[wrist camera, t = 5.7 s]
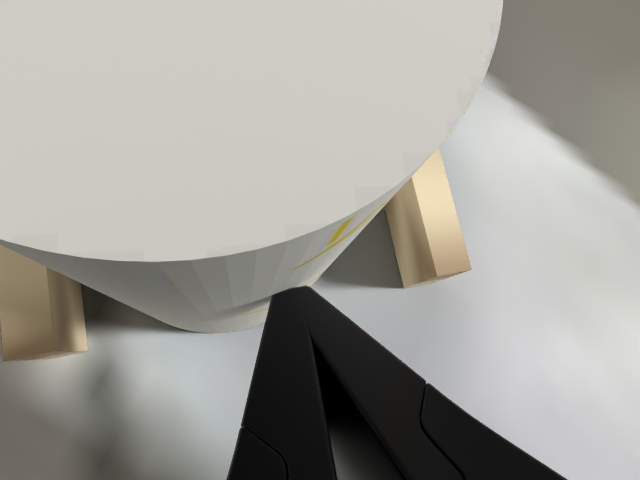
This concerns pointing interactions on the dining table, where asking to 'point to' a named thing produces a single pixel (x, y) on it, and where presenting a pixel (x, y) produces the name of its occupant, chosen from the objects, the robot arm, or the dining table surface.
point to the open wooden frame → (66, 295)
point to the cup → (220, 137)
